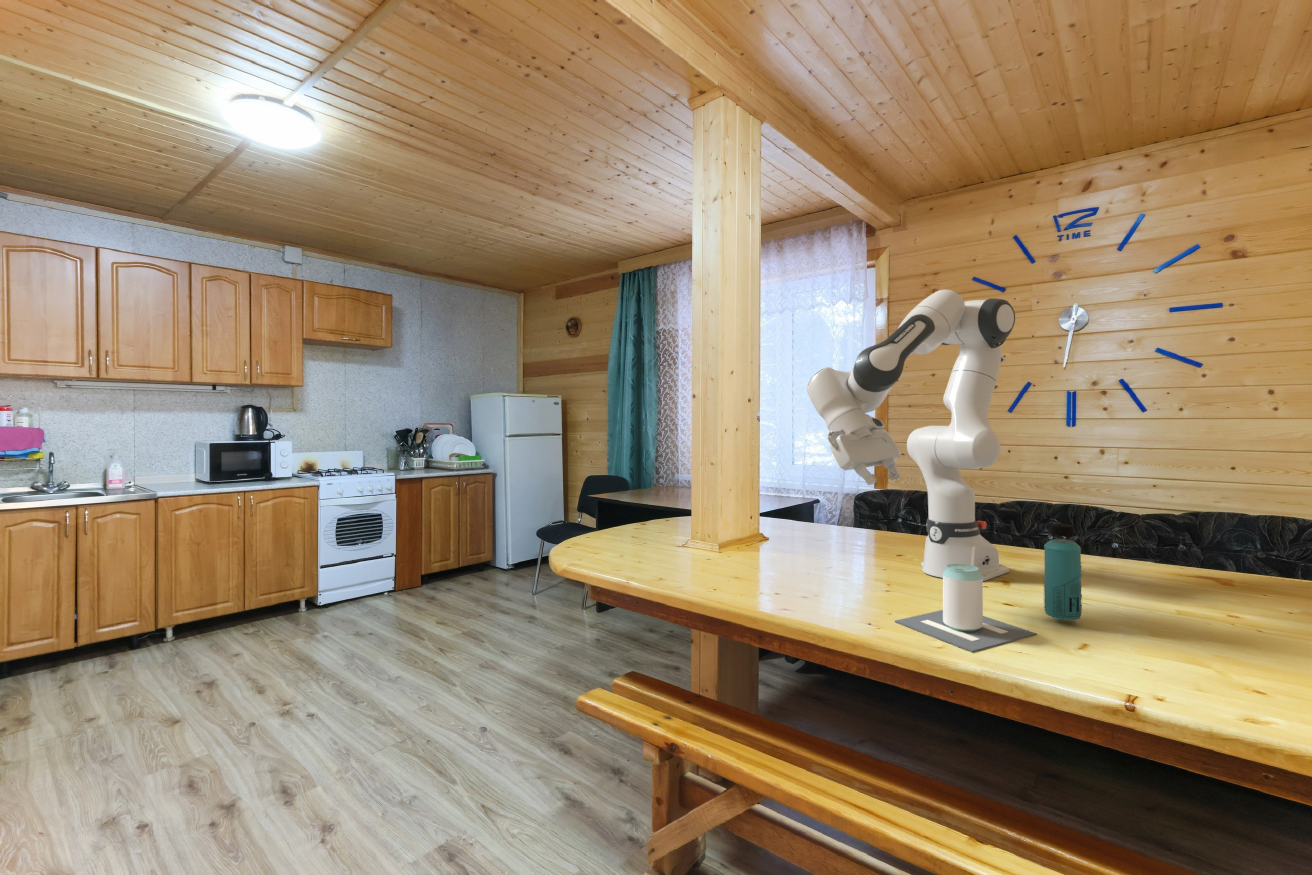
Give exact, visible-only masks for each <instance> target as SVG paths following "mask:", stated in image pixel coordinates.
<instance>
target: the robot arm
mask: <svg viewBox="0 0 1312 875" xmlns="http://www.w3.org/2000/svg"><path fill="white" fill-rule="evenodd" d="M1015 323H1016V313H1015V310H1014V307H1013V306H1012V305H1011V304H1010V302H1009V301H1008V300H1006V299H1002V298H986V299H972V300H966V301H965V300H964V298H963V297H962V296H961V295H960V294H959V293H957V291H954V290H952V289H939V290H937V291H934V292H933V293H931V294H930V295H929V296H927V297H925V298H924V299H923V300H921V301H920V302H919V303H918V304H917V305H915V307H914V308H912V309H911V310H910V311H909V312H908V314H907V315H906V316H905V317H904V318H903V319H902V321H901V322H900V324H899V326H898V328H897V329H895V331H894V332H892V334H891V335H889V336H888V337H887V338H886V339H885V340H883V341H881V342H880V343H876V344H874V345H871V346H868V347H866V348H865V349H863V350H862V351H861V352H860V353H859V354H858V355H857V356H856V359H855V363H854V365H853V368H852V370H851V371H843V370H842V371H840V370H837V369H834V368H832V367H829V366H828V367H823V368H822V369H820V370H819V371H817V372H816V373H815V374H814V375H813V376H812V377H811V378H810V379H809V382H808V384H807V387H806V392H807V394H808V397H809V398H810V401H811V403H812V405H813V407H814V408H815V411H816V412H817V414H818V415H819V416H820V417H821V418H822V419H823V420H824V421H825V424H826V428H827V429H828V430H829V432H828V434H827V441H828V442H829V448H830V450H831V453H832V455H833V457H834V459H835V460H836V463H837V465H838V467H840V469H842V470H843V471H851V470H854V471H855V473H856V474H857V475H858V476H860V477H861V478H862V479H864V481H865V483H866V484H867V485H868V486H871V485H874V484H875V483H877V482H878V478H877V477H876V476H875V474H874V473H871V471H869V469H867V468H869V467H870V468H871V467H878V466H883V467H884V468H885V469H887V471H888V474H887V476H888V478H889V480H891V481H892V482H893V481H897V480H899V479H900V478H901V474H900V473H899V471H898V468H897V463H896V461H897V460H898V459H899V458H900V457H901V451H900V449H899V447H898V445H897V443H896V441H894V439H893V437H892V436H891V434H890V433H889V432H888V431H887V430H886V429H884V428H885V427H886V425H885V424H884V422H883V420H882V419H878V418H876V417H873V416H871V415H870V414H868V413H870V412H873V411H875V410H877V409H878V408H880V406H881V405H882V404H883V402H884V401H885V399H886V398H887V396H888V394H889V393H890V392H891V390H892V388H893V386H895V384H896V383H897V381H898V380H899V379H900V378H901V376H902V373H903V370H904V366H905V361H906V360H907V359H908V358H910V356H911V355H913V354H915V355H919V356H920V355H928V354H930V353H932V352H933V351H934V350H936V349H937V348H939V347H940V346H942V345H944V346H948V345H959V353H958V356H957V358H956V360H955V362H954V364H953V367H952V370H951V372H950V376H949V378H948V381H947V384H946V388H945V391H944V394H943V397H942V398H943V399H942V403H943V404H944V406H945V407H946V408H947V410H949V411H950V412H951V421H950V423H949V425H927V426H922V427H918V428H916V429H914V430H913V431H911V433H910V434H909V435H908V438H907V439H906V440H907V441H906V450H907V454H908V455H909V457H910V458H911V459H912V460H913V461H914V462H915V463H916V464H917V466H918V468H919V469H920V472H921V473H922V476H923V479H924V483H925V486H926V492H927V506H928V507H927V509H928V511H927V513H928V517H927V518H926V524H925V525H926V532H927V536H926V538H925V544H924V554H923V560H922V561H921V564H920V566H921V567H922V568H921V570H922V572H923V573H924V574H927V575H929V576H932V577H937V578H941V579H943V572H944V571H945V570H946V569H947V568H946V566H947V565H949V564H967V565H972V566H976V567H978V568H979V573H980V574H981V575H982V577H983V582H985V581H988V580H991V579H993V578H996V577H999V576H1002V575H1004V574H1007V573H1010V568H1009V566H1006V565H1004V564H1001V563H1000V558H999V552H998V549H997V547H996V546H994V545H993V544H992V543H990V541H988V540H987V539H985V537H983V535H981V532H980V529H981V530H985V529H986V528H987V526H988V524H987V521H983V520H976V516H975V515H976V495H975V494H976V493H975V491H974V489H973V487H971V486H970V485H969V484H968V483H967V482H966V481H965V480H964V478H963V476H962V475H961V471H960V469H962V470H963V469H964V470H976V469H983V468H989V467H992V466H993V465H994V464H995V463H996V462H997V461H998V459H999V457H1000V455H1001V452H1002V451H1001V450H1002V446H1001V445H1002V444H1001V442H1000V437H999V436H998V435H997V433H996V432H995V431H994V430H993V429H992V428H991V425H990V420H989V410H990V405H991V403H992V402H991V400H992V398H993V394H994V392H995V391H994V390H995V387H996V385H997V384H996V383H997V381H998V376H999V373H1000V370H1001V369H1000V368H1001V362H1002V348H1001V346H1002V345H1003V344H1004V343H1005V341H1006V340H1007V339H1008V337H1009V335H1010V334H1011V333H1012V330H1013V328H1014V327H1015Z"/></svg>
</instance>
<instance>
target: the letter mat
mask: <svg viewBox="0 0 1312 875" xmlns="http://www.w3.org/2000/svg"><path fill="white" fill-rule="evenodd" d="M894 623H896V624H899V625H901V626H904V627H906V628H909V629H911V630H915V631H917V632H919V633H921V634H924V635H927V636H929V637H932V638H934V639H937V640H939V641H941V642H944V643H947V644H950V645H952V646H955V647H957V648H958V649H959V648H960V649H962V650H965V651H967V652H970V653H975V652H980V651H984V650H987V649H990V648H993V647H997V646H1002V645H1005V644H1008V643H1012V642H1016V641H1019V640H1024V639H1027V638H1031V637H1034V636H1037V635H1038V633H1037V632H1034V631H1032V630H1031V631H1030V630H1028V629H1025V628H1021V627H1018V626H1015V625H1013V624H1009V623H1007V622H1003V621H1000V620H997V619H994V618H991V617H988V616H985V615H983V626H982V627H981V628H980V629H978V630H976V631H971V632H966V631H959V630H955V629H952V628H950V627H948V626H947V625H946V624H945V623H944V622H943V609H940V610H936V611H931V612H927V613H923V614H918V615H914V616H909V617H905V618H900V619H896V620H894Z"/></svg>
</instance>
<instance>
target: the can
mask: <svg viewBox="0 0 1312 875" xmlns="http://www.w3.org/2000/svg"><path fill="white" fill-rule="evenodd" d="M946 568H947V569H946V570H945V571H944V572H943V578H942V610H943V622H944V623H945V624H946V625H947V626H948V627H950V628H952V629H955V630H959V631H966V632H971V631H976V630H978V629H980V628H981V627H982V626H983V616H984V615H983V614H984V613H983V605H984V603H983V598H984V597H983V592H984V591H983V588H984V587H983V584H984V581H983V577H982V575H981V574H980V573H979V568H978V567H976V566H972V565H967V564H949V565H947V566H946Z"/></svg>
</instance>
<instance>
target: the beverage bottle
mask: <svg viewBox="0 0 1312 875" xmlns="http://www.w3.org/2000/svg"><path fill="white" fill-rule="evenodd" d="M1049 534H1050V535H1052V536H1054V537H1055V536H1056V537H1067V538H1069V537H1070V538H1071V537H1074V536H1075V526H1074V525H1073V524H1069V523H1068V524H1067V523H1051V524H1050V529H1049ZM1043 550H1044V575H1043V578H1044V579H1043V591H1044V592H1043V602H1044V604H1043V605H1044V606H1043V609H1044V613H1045V614H1046V616H1049V617H1052V618H1055V619H1058V620H1064V621H1076V620H1081V617H1082V614H1083V605H1082V598H1083V594H1082V577H1083V575H1082V566H1083V564H1082V561H1081V560H1082V559H1081V557H1082V548H1081V546H1080V545H1079V544H1078V543H1077V542H1076V541H1073V540H1070V539H1061V538H1058V539H1057V538H1054V539H1050V540H1048V541H1047V542H1046V543H1045V544H1044V545H1043Z"/></svg>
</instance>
